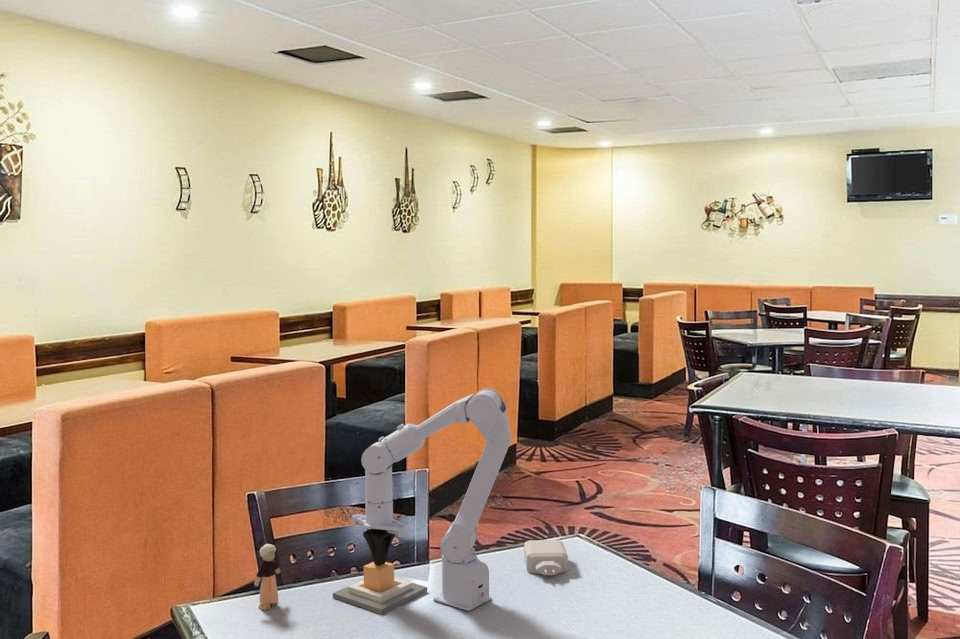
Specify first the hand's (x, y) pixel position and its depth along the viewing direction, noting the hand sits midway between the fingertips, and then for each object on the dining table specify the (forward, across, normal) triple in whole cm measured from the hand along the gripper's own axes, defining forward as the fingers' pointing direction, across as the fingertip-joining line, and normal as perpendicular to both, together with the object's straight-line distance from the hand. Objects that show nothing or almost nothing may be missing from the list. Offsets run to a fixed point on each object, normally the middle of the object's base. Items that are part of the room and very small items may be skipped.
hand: (379, 563), depth 168 cm
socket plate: (+7, 0, 0) cm, 7 cm away
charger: (+7, +21, +32) cm, 39 cm away
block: (+6, 0, 0) cm, 6 cm away
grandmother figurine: (+7, -15, -17) cm, 24 cm away
